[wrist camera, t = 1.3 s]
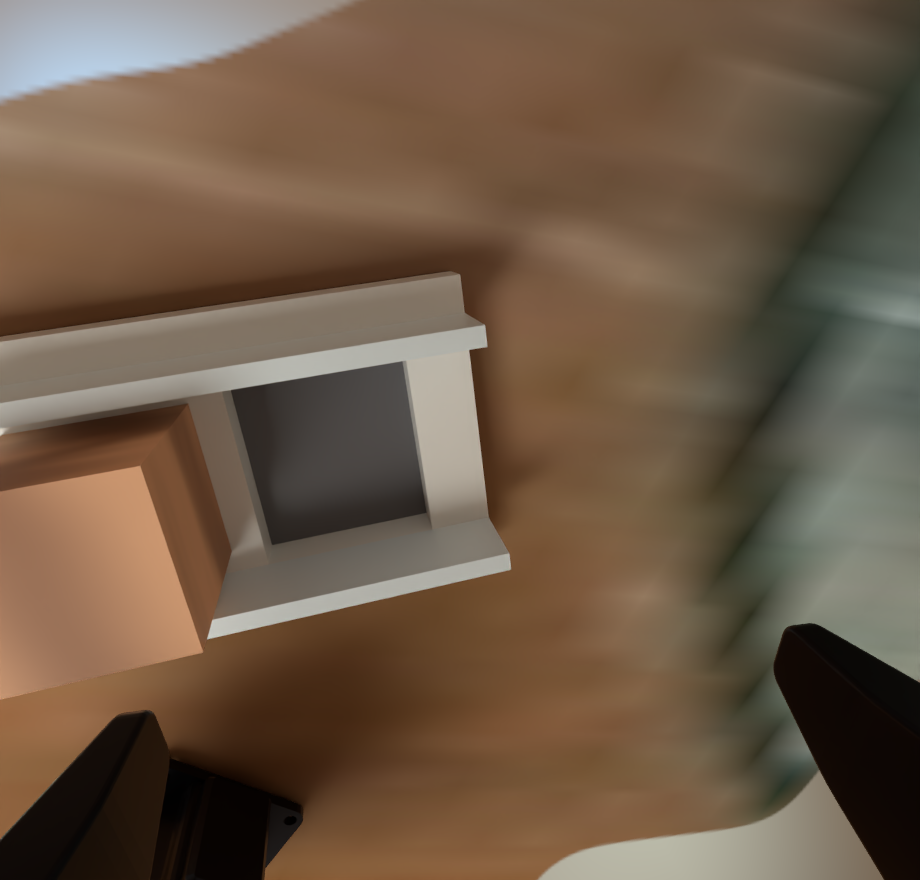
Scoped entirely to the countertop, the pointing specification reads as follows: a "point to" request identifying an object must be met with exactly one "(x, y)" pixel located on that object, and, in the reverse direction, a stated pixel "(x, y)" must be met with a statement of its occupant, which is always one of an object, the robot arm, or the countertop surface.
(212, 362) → the channel
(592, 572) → the countertop surface
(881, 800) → the robot arm
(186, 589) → the block
